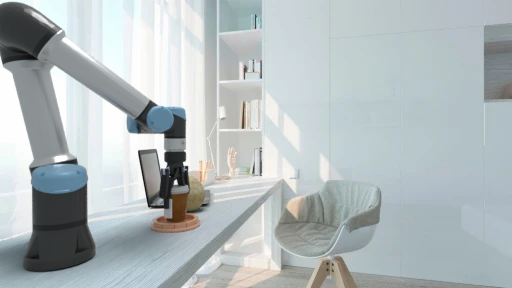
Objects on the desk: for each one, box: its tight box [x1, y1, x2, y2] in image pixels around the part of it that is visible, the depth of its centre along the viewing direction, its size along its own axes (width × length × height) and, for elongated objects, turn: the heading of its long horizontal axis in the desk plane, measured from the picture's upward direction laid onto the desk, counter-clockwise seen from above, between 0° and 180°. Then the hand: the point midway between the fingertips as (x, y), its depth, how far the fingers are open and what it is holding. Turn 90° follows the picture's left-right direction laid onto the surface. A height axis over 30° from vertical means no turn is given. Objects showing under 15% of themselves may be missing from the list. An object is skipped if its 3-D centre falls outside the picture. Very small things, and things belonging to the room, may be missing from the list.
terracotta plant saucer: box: [150, 212, 201, 234], centre depth 105 cm, size 17×17×2 cm
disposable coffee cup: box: [166, 184, 189, 222], centre depth 105 cm, size 10×10×12 cm
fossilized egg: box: [186, 175, 206, 212], centre depth 127 cm, size 13×13×15 cm
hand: (175, 214), depth 105 cm, fingers closed on disposable coffee cup, 8 cm apart
